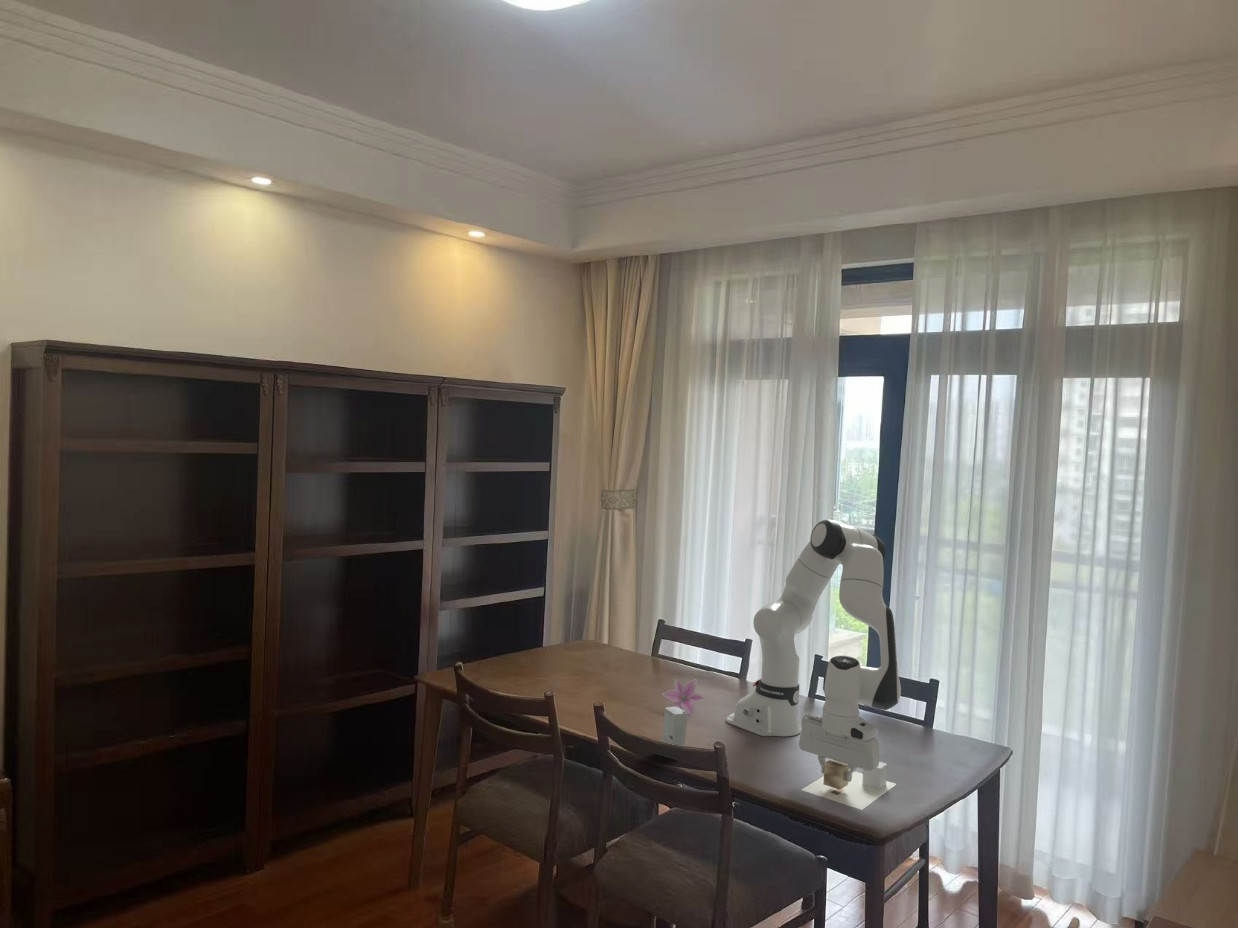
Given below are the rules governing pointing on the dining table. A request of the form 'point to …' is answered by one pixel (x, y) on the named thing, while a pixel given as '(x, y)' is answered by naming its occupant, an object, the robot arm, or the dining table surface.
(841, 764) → the birch block
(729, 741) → the dining table surface
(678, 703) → the lily
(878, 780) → the grey block
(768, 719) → the robot arm
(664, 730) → the skincare box
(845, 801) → the cream flat sheet
